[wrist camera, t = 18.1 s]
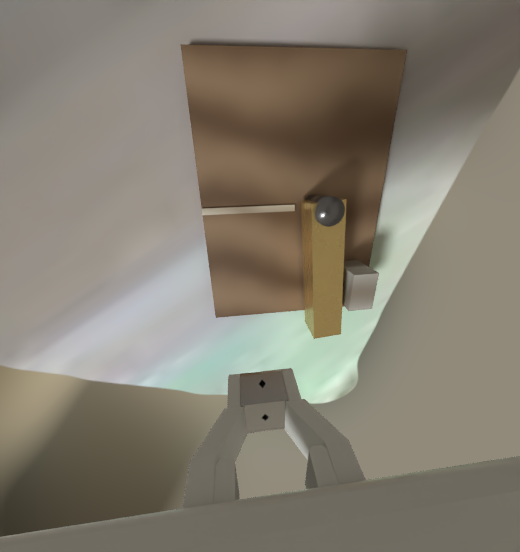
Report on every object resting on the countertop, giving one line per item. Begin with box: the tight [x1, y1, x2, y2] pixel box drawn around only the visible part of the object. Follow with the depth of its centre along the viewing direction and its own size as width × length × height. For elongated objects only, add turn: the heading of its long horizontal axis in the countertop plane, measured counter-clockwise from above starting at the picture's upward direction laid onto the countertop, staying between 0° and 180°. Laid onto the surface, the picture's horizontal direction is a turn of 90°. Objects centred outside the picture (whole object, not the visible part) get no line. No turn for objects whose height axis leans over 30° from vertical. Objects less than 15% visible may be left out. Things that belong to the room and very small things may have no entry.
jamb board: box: [181, 45, 407, 318], centre depth 21 cm, size 24×18×5 cm
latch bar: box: [301, 194, 347, 339], centre depth 23 cm, size 14×3×4 cm, turn 6°
